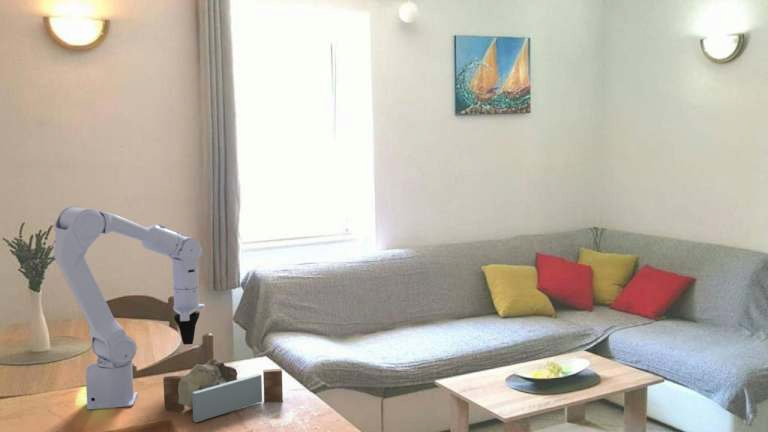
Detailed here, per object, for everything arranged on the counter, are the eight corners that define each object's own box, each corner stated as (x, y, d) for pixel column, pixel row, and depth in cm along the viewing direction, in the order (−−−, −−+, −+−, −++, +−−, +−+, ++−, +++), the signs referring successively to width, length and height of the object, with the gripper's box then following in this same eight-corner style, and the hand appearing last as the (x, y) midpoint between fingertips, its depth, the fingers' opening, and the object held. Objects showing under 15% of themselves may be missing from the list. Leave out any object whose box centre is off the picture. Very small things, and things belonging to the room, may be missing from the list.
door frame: (164, 410, 153) (163, 379, 152) (165, 408, 154) (164, 376, 154) (282, 401, 158) (281, 370, 157) (282, 399, 159) (281, 368, 158)
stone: (234, 349, 153) (218, 341, 161) (173, 385, 146) (160, 376, 155) (254, 391, 155) (238, 382, 164) (196, 429, 149) (182, 417, 157)
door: (196, 422, 146) (195, 393, 145) (193, 420, 146) (192, 392, 146) (262, 401, 157) (261, 375, 156) (258, 400, 158) (258, 373, 157)
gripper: (202, 292, 162) (204, 351, 164) (205, 280, 176) (206, 334, 178) (169, 294, 161) (172, 353, 162) (175, 281, 175) (177, 336, 176)
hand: (188, 343), depth 170 cm, fingers closed
